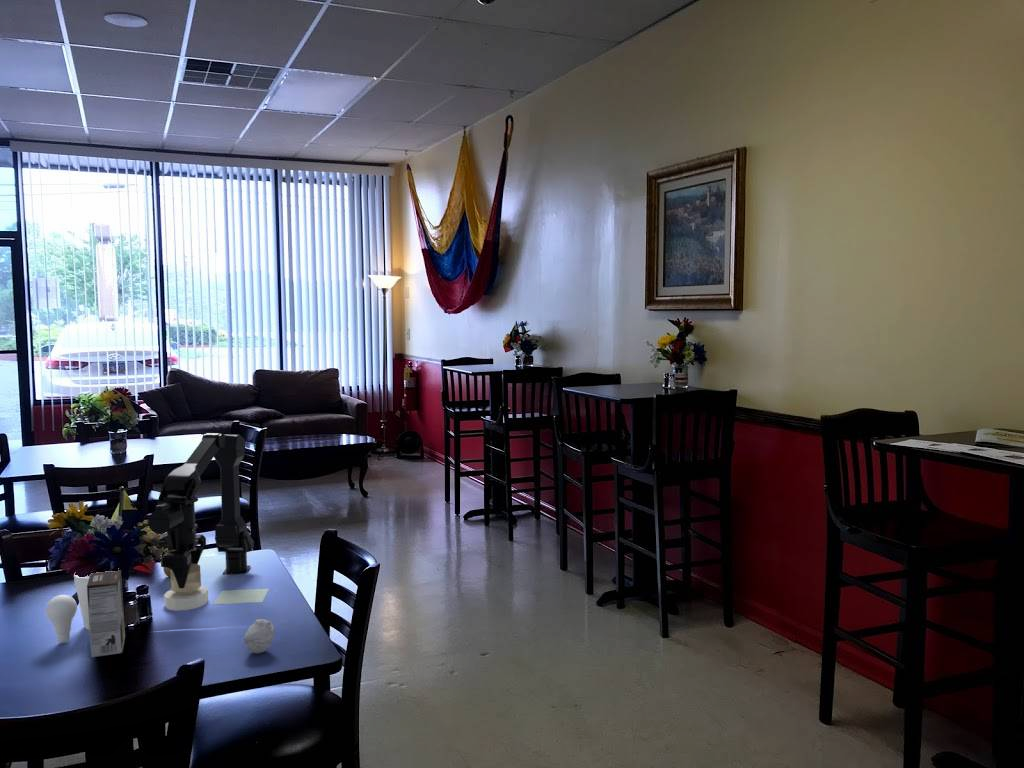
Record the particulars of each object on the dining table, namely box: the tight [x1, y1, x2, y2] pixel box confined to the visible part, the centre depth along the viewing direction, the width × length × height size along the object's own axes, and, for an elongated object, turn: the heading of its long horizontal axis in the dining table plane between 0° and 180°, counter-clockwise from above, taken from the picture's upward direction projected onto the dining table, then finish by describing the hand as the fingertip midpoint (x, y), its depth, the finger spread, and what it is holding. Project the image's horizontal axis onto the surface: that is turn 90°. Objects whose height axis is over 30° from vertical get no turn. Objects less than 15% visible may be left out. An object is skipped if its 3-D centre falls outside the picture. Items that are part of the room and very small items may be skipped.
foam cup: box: [73, 573, 89, 631], centre depth 191 cm, size 10×9×13 cm
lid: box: [170, 563, 202, 592], centre depth 204 cm, size 7×7×5 cm
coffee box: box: [87, 569, 126, 658], centre depth 178 cm, size 9×6×16 cm
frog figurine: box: [243, 618, 275, 654], centre depth 176 cm, size 6×7×7 cm
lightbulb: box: [45, 594, 78, 644], centre depth 181 cm, size 6×6×11 cm
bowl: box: [163, 585, 209, 612], centre depth 205 cm, size 10×10×3 cm
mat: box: [213, 588, 270, 605], centre depth 209 cm, size 10×12×1 cm
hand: (185, 583), depth 204 cm, fingers closed on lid, 7 cm apart
